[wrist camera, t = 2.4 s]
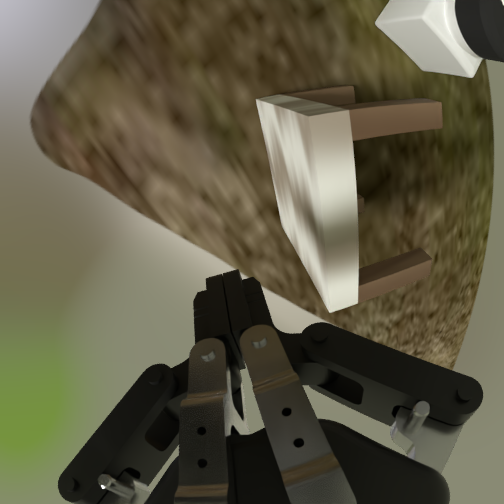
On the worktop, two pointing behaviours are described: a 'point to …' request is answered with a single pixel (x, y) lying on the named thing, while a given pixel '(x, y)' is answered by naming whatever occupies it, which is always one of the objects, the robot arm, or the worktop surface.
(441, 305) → the worktop surface
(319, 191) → the footstool
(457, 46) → the medicine bottle
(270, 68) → the worktop surface
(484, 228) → the worktop surface
